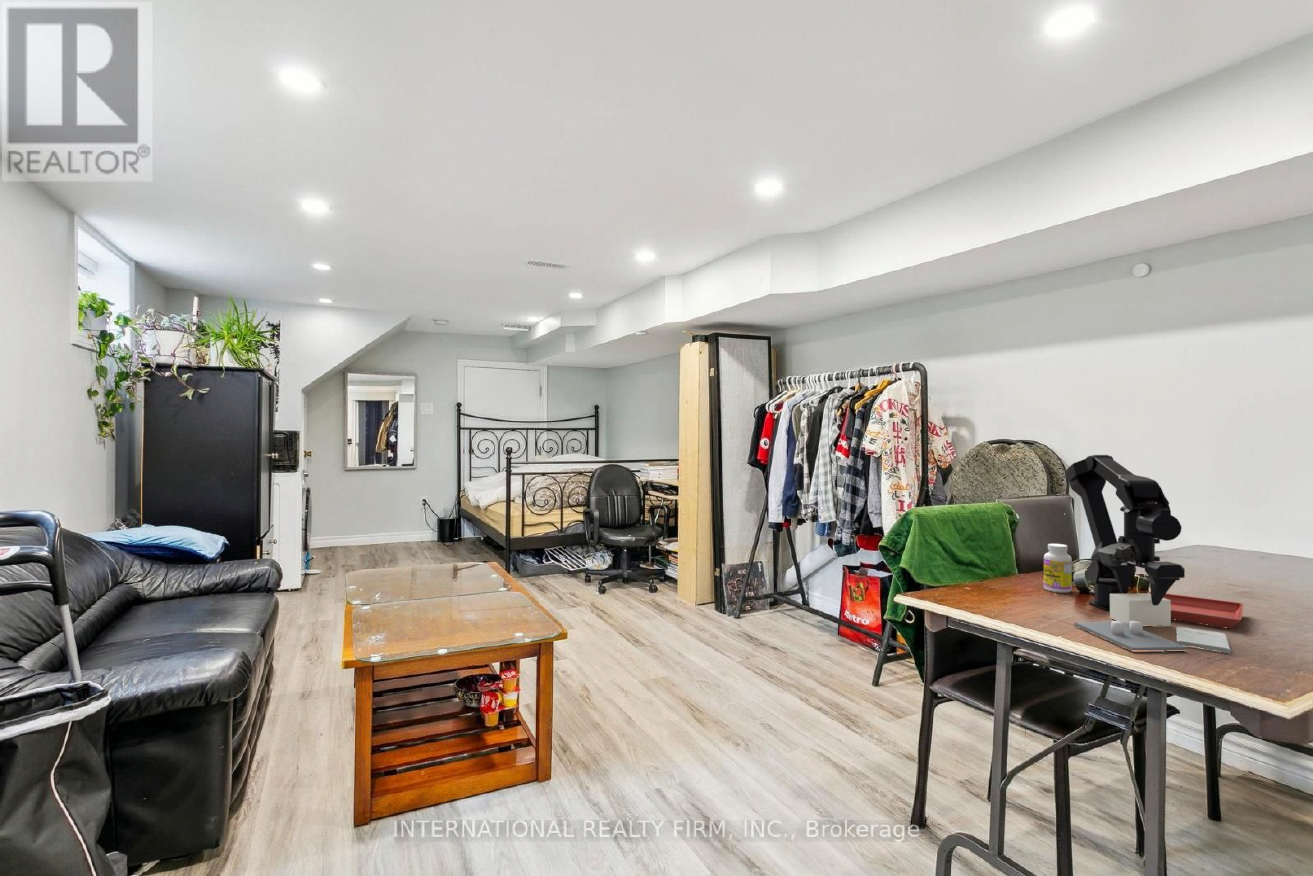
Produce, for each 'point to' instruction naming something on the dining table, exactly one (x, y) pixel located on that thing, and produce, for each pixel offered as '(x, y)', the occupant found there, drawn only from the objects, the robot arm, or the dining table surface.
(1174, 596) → the plant saucer
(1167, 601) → the block
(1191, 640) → the external hard drive
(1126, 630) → the base plate
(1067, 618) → the dining table surface
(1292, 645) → the dining table surface
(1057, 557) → the supplement bottle
